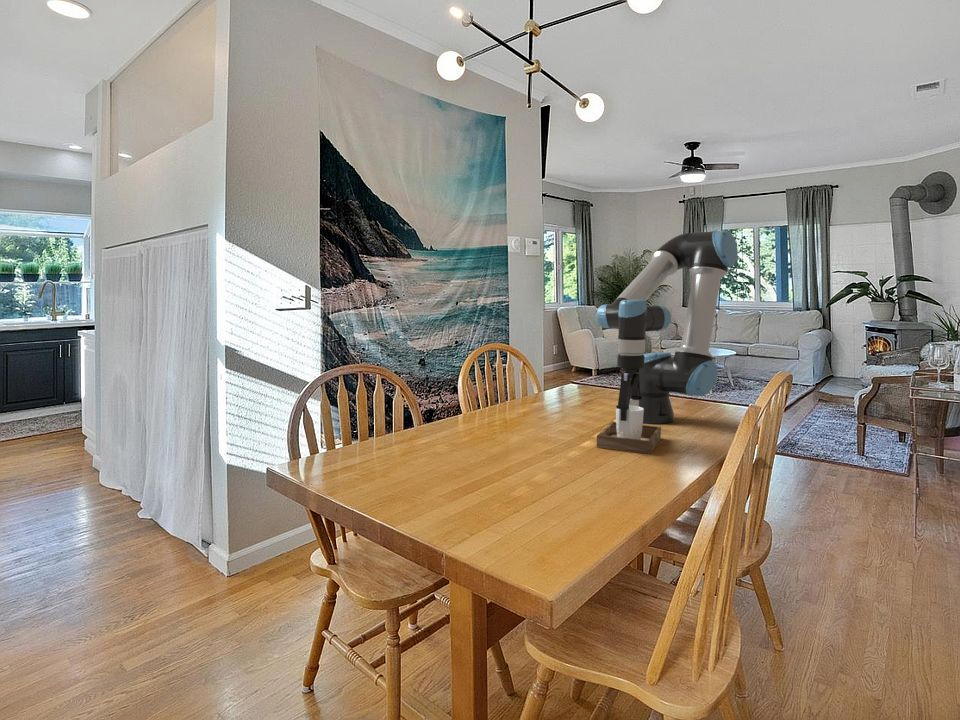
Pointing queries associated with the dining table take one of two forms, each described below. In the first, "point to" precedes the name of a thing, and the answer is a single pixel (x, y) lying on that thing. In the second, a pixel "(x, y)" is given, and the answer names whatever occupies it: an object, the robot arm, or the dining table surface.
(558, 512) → the dining table surface
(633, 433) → the white cup
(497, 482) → the dining table surface
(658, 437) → the walnut caddy
